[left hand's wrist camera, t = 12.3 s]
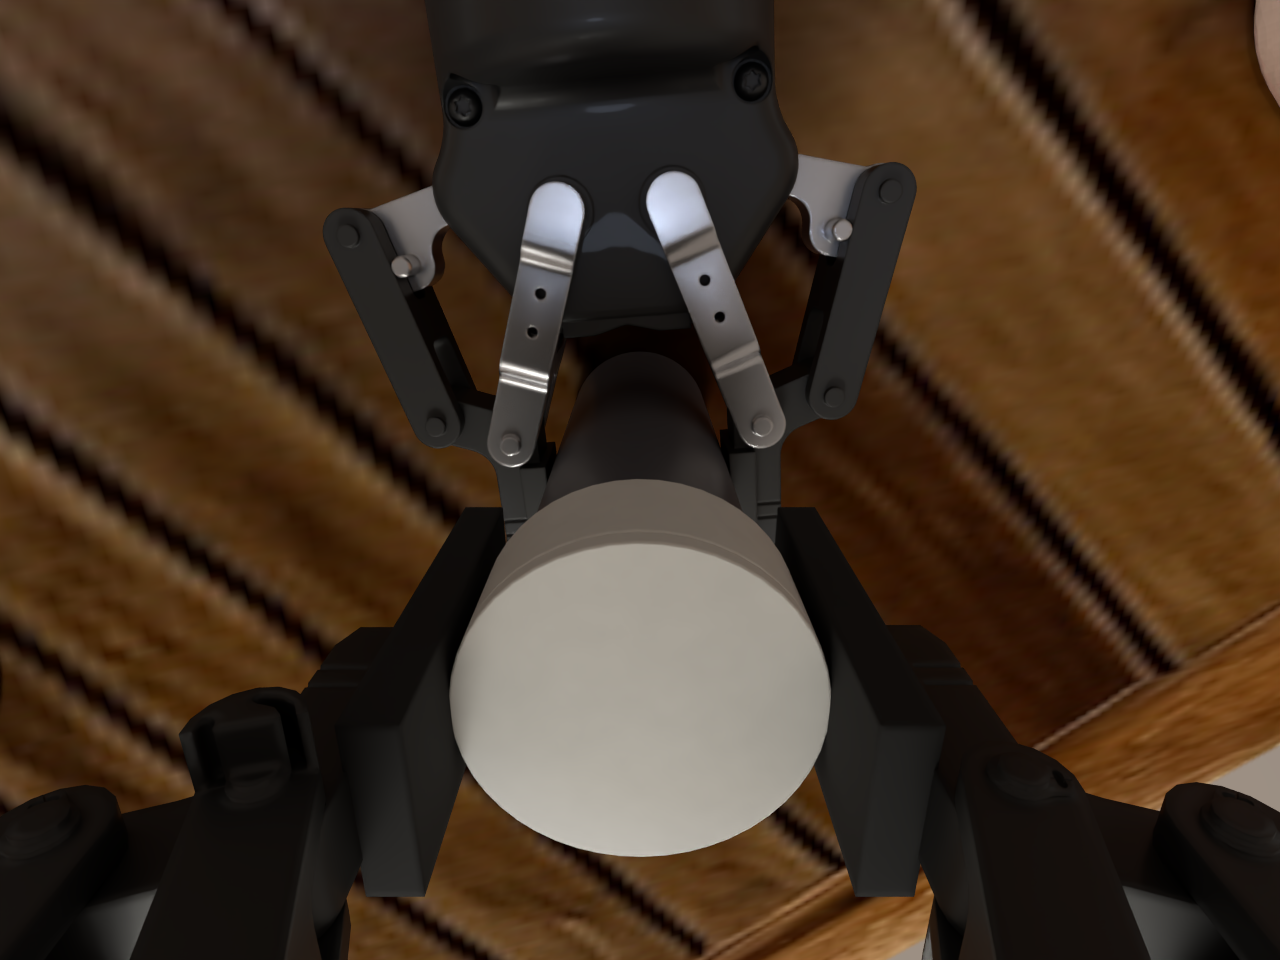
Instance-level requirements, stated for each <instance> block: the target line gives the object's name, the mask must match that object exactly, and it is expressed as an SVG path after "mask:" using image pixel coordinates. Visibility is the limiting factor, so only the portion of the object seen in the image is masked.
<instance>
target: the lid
mask: <svg viewBox="0 0 1280 960" xmlns="http://www.w3.org/2000/svg"><path fill="white" fill-rule="evenodd" d="M449 699H450V708H451V717H452V725H453V732H454V737H455V739H456V742H457V745H458V747H459V750H460V752H461V755H462V757H463V759H464V761H465V763H466V764H467V766H468V768H469V770H470V771H471V773H472V775H473V776H474V777H475V779H476V780H477V781H478V783H479V784H480V785H481V787H482V788H483V789H484V791H485V792H486V793H487V794H488V795H489V796H490V797H491V798H492V799H493V800H494V801H495V802H496V803H497V804H498V805H499V806H500V807H502V808H503V809H504V810H505V811H507V812H508V813H509V814H510V815H512V816H513V817H514V818H516V819H517V820H518V821H520V822H522V823H523V824H525V825H527V826H528V827H530V828H531V829H533V830H535V831H537V832H539V833H541V834H543V835H545V836H547V837H549V838H552V839H554V840H556V841H559V842H562V843H565V844H567V845H570V846H573V847H576V848H580V849H584V850H589V851H593V852H597V853H603V854H611V855H619V856H641V857H645V856H661V855H670V854H676V853H682V852H688V851H692V850H696V849H700V848H703V847H707V846H711V845H713V844H716V843H718V842H721V841H724V840H726V839H729V838H731V837H733V836H735V835H737V834H739V833H741V832H743V831H745V830H747V829H749V828H751V827H752V826H754V825H755V824H757V823H758V822H760V821H761V820H763V819H764V818H766V817H767V816H769V815H770V814H771V813H772V812H774V811H775V810H776V809H777V808H778V807H780V806H781V805H782V804H783V803H784V802H785V801H786V800H787V799H788V798H789V797H790V796H791V795H792V794H793V793H794V792H795V790H796V789H797V788H798V787H799V786H800V785H801V783H802V782H803V780H804V779H805V778H806V776H807V775H808V773H809V772H810V770H811V769H812V767H813V765H814V763H815V761H816V759H817V757H818V755H819V753H820V751H821V749H822V746H823V743H824V740H825V737H826V734H827V728H828V720H829V712H830V702H831V683H830V677H829V670H828V666H827V663H826V660H825V657H824V653H823V650H822V647H821V645H820V642H819V640H818V638H817V636H816V633H815V631H814V628H813V626H812V624H811V621H810V619H809V616H808V614H807V612H806V609H805V607H804V605H803V602H802V600H801V598H800V595H799V593H798V590H797V588H796V586H795V583H794V581H793V579H792V576H791V574H790V572H789V569H788V567H787V565H786V563H785V561H784V559H783V557H782V555H781V553H780V552H779V550H778V549H777V548H776V546H775V545H774V543H773V542H772V540H771V539H770V538H769V536H768V535H767V534H766V533H765V532H764V531H763V530H762V529H761V528H760V527H759V526H758V525H757V524H756V522H754V521H753V520H752V519H751V518H749V517H748V516H747V515H746V514H744V513H743V512H742V511H741V510H739V509H738V508H736V507H735V506H733V505H731V504H730V503H728V502H726V501H725V500H723V499H721V498H719V497H717V496H715V495H712V494H710V493H708V492H705V491H703V490H701V489H697V488H694V487H690V486H687V485H684V484H680V483H674V482H668V481H662V480H647V479H631V480H619V481H611V482H606V483H602V484H597V485H592V486H589V487H586V488H583V489H580V490H578V491H575V492H572V493H570V494H568V495H566V496H564V497H562V498H560V499H558V500H556V501H554V502H552V503H550V504H549V505H547V506H546V507H544V508H543V509H541V510H540V511H538V512H537V513H535V514H534V515H533V516H532V517H531V518H530V519H529V520H527V521H526V522H525V523H524V524H523V525H522V526H521V527H520V528H519V529H518V530H517V531H516V532H515V533H514V535H513V536H512V537H511V538H510V539H509V541H508V542H507V543H506V545H505V546H504V548H503V549H502V551H501V553H500V554H499V556H498V557H497V559H496V561H495V564H494V566H493V568H492V570H491V573H490V575H489V577H488V580H487V582H486V585H485V587H484V589H483V592H482V594H481V596H480V599H479V601H478V604H477V606H476V608H475V611H474V613H473V615H472V618H471V620H470V623H469V625H468V627H467V630H466V632H465V634H464V637H463V639H462V642H461V644H460V646H459V649H458V651H457V653H456V657H455V661H454V664H453V668H452V672H451V677H450V687H449Z"/></svg>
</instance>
